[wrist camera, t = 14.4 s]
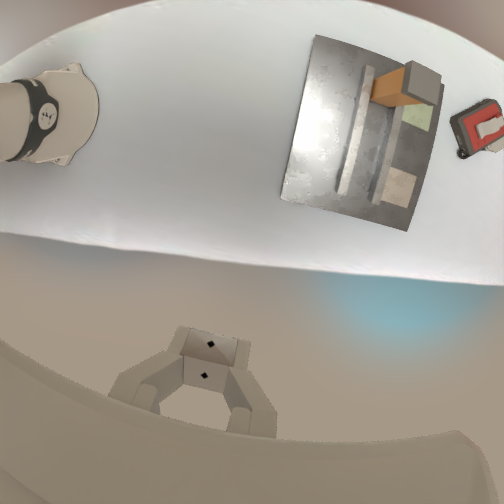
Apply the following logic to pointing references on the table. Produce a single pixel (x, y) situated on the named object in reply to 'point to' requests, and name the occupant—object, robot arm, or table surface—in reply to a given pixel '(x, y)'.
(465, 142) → the walkie-talkie
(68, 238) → the table surface
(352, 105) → the grey metal board
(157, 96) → the table surface
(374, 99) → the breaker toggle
